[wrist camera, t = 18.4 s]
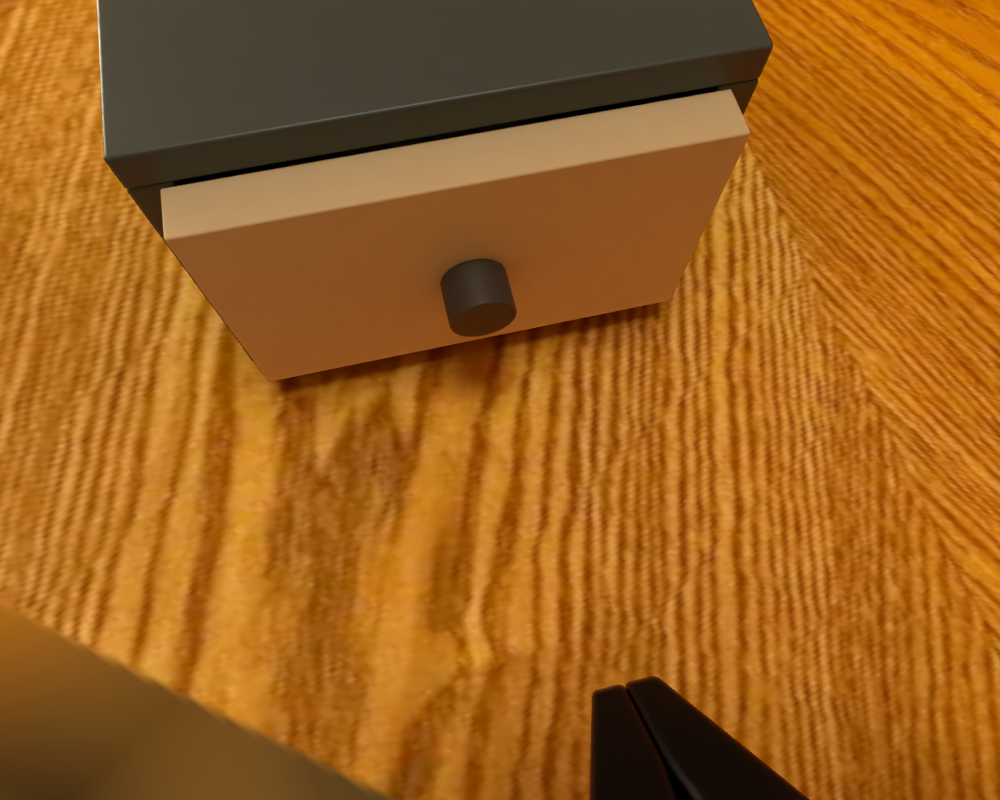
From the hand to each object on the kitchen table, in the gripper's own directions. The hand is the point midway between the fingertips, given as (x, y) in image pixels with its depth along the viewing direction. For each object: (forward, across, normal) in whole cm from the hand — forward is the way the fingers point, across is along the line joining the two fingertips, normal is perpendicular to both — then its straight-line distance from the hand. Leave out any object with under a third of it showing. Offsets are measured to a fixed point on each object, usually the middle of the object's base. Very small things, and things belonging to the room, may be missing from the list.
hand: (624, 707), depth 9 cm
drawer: (+17, 0, -5) cm, 17 cm away
